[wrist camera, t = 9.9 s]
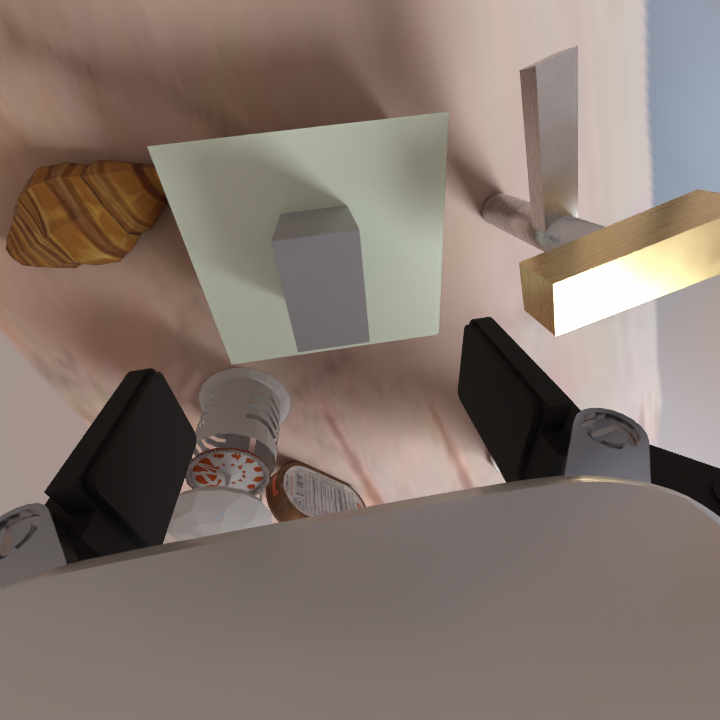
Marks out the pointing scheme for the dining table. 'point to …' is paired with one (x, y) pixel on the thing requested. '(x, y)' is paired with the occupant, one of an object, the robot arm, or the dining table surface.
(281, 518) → the tin
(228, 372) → the french press
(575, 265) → the key
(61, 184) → the croissant
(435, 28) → the dining table surface
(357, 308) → the cover
